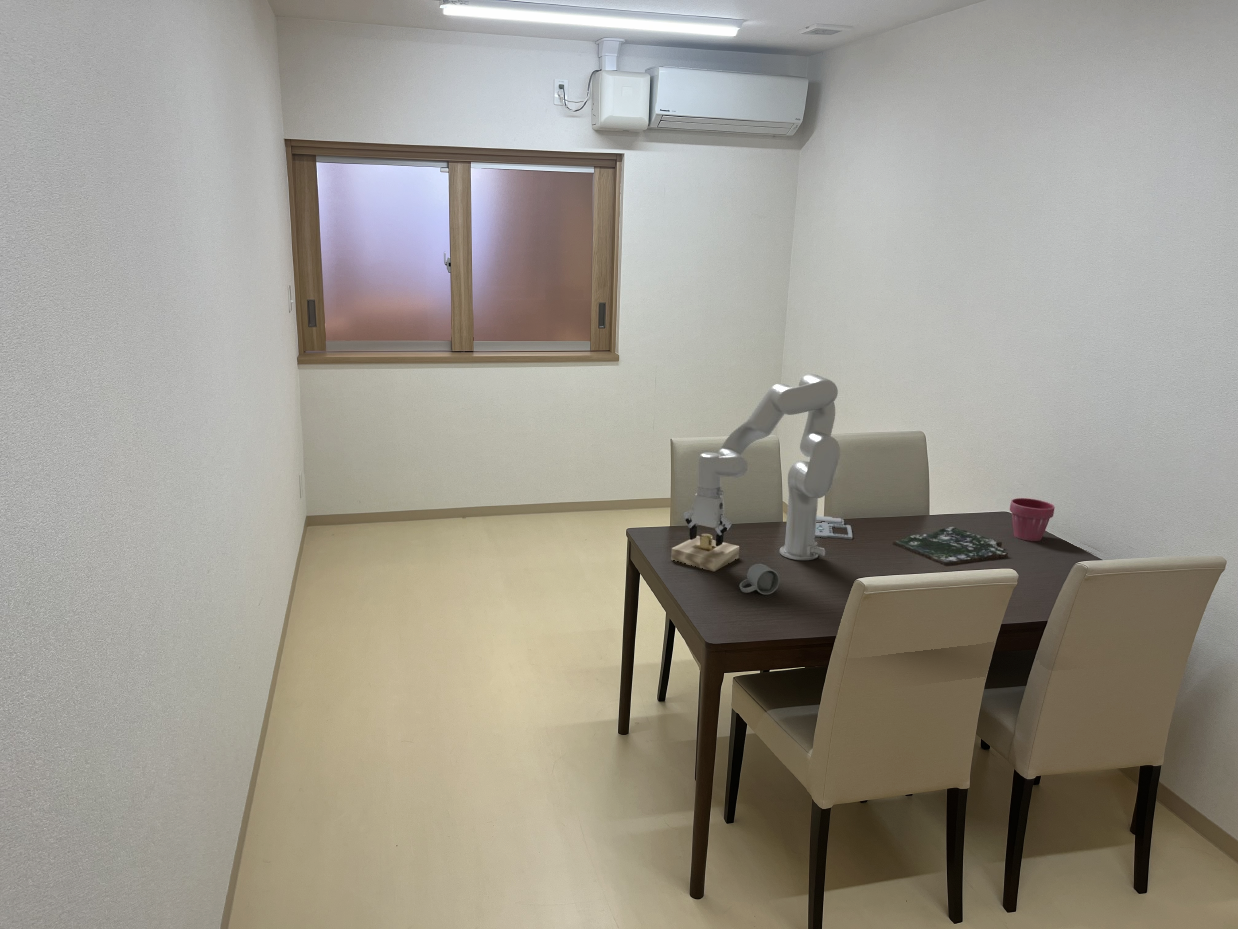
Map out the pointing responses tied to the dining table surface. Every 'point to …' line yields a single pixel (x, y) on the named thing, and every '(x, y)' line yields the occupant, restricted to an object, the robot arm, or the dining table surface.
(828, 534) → the office telephone
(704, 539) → the brass pin
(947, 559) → the topographical map
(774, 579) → the ceramic mug
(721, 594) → the dining table surface
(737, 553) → the block
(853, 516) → the dining table surface
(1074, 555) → the dining table surface
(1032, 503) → the plant pot
